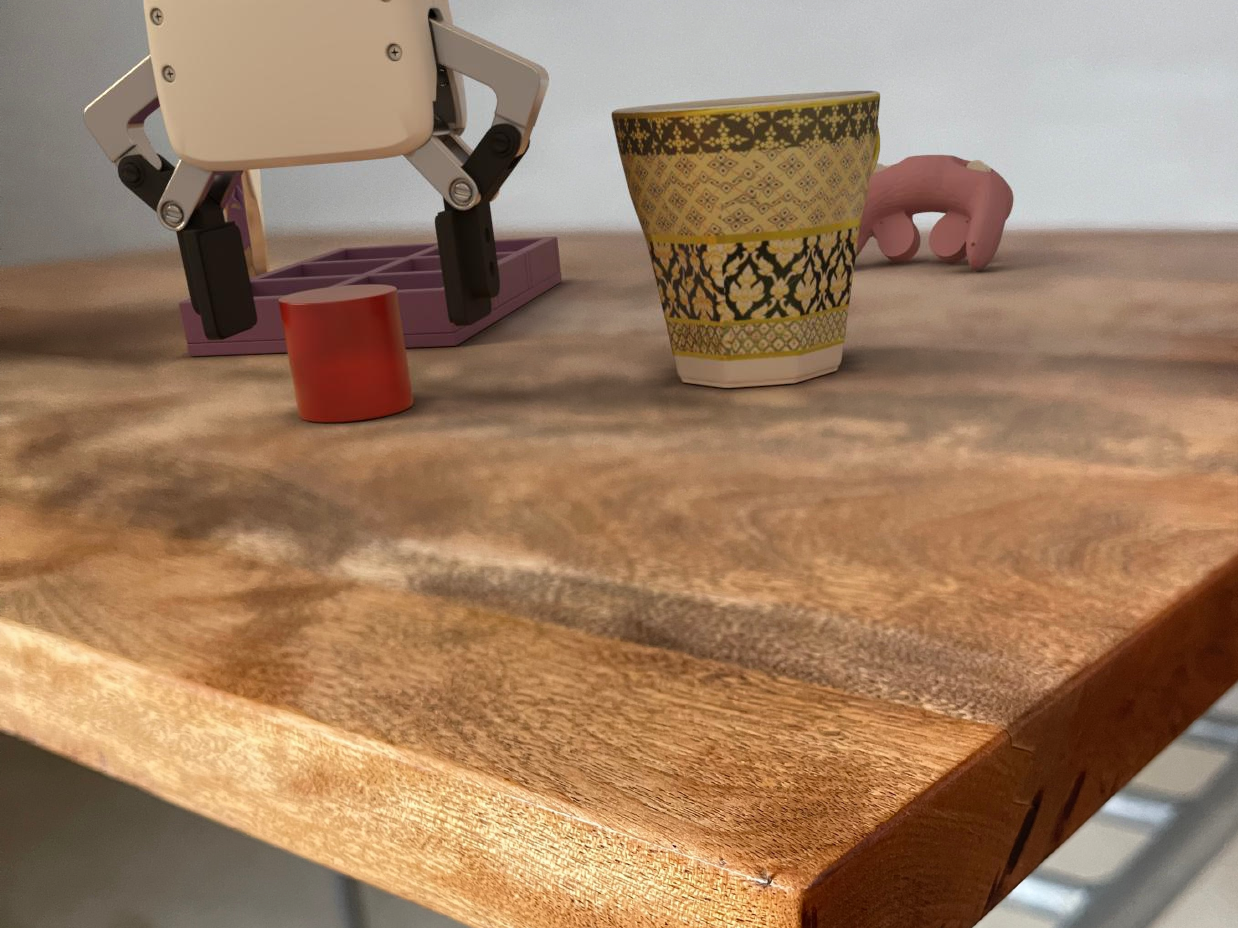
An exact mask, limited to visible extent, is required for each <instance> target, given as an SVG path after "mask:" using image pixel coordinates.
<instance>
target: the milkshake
mask: <svg viewBox="0 0 1238 928" xmlns="http://www.w3.org/2000/svg"><path fill="white" fill-rule="evenodd" d="M223 214H224V219H225V222H229V221H235V224H236V225H237V226H238V227H239V229H240V232H241V237H242V242H243V247H244V252H245V257H246V262H247V267H248V272H249V278H252V277H255V276H258V275H261V274H264V273H267V272H270V263H269V252H268V243H267V234H266V226H265V217H264V216H265V215H264V207H263V194H262V182H261V169H253V170H244V171H243V173H242V175H241V177H240V179H239V181H238V183H237V185H236V187H235V189H234V191H233V193H232V195H231V197H230V199H229V201H228V202H227V204H226V206H225V208H224V210H223Z"/></svg>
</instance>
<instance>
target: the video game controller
mask: <svg viewBox="0 0 1238 928" xmlns="http://www.w3.org/2000/svg"><path fill="white" fill-rule="evenodd" d="M1014 198H1015V197H1014V193H1013V190H1012V187H1011V186H1010V184H1009V183H1008V182H1007V181H1006V179H1005V178H1004V177H1003V176H1002V175H1001V174H1000V173H999V172H998V171H996V170H995V169H993V168H992V167H990V166H989V165H987V163H984V162H983V161H981V160H980V159H975V160H967V159H964V158H960V157H958V156H955V155H951V154H950V155H948V154H921V155H911V156H907V157H905V158H904V159H902V160H901V161H899V162H896V163H894V164H890V165H889V164H888V165H884V164H882V163H878V162H877V165H876V167H875V170H874V172H873V174H872V175H871V177H870V182H869V187H868V191H867V196H866V201H865V205H864V209H863V214H862V218H861V222H860V228H859V236H858V244H857V252H856V258H857V257H858V256H859V255H860V253H861V251H862V250H863V249H864V248H865V245H867V243H868V241H869V240H870V238H874V239H875V240H876V242H877V246H878V248H879V250H880V252H881V254H883V255H884V256H885V257H886V258H887V259H888V260H889V261H891V262H893V263H898V264H899V263H905V262H908V261H909V260H911V259H912V258H913V257H915V255H916V254H917V253H918V251H919V249H920V247H921V235H920V230H919V229H918V226H916V224H915V223H914V215H917V214H924V213H939V214H943V216H941V217H940V218H939V219H938V220H937V221H936V222H935V224H934V225H933V227H932V228H931V230H930V234H929V235H928V245H929V249H930V250H931V251H932V253H933V254H934V255H935V256H936V257H937V258H938V259H939V260H940V261H942V262H943V263H946V264H955V263H960V262H961V261H962V260H964V259H965V258H967V262H968V265H969V267H970V268H971V269H973V270H974V271H976V272H978V271H980V270H982V269H984V268H986V266H988V265H989V264H990V263H991V261H993V258H994V257H995V255H996V253H997V252H998V249H999V246H1000V244H1001V242H1002V237H1003V233H1004V229H1005V225H1006V221H1008V219H1009V217H1010V215H1011V213H1012V210H1013V206H1014Z"/></svg>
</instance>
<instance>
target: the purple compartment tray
mask: <svg viewBox="0 0 1238 928" xmlns="http://www.w3.org/2000/svg"><path fill="white" fill-rule="evenodd" d="M495 247H496V254H497V262H498V270H499V278H500V290H499V294H498V295H497V296H496V297H494V298H491V303H492V310H491V314H490V315H488V316H486V317H484V318H483V319H481V320H479V321H477V322H476V323H474V324H472V325H469V326H456V325H455V324H454V323H451V322H450V321H449V317H448V311H447V304H446V297H445V291H444V284H443V277H442V270H441V263H440V256H439V249H438V243H437V242H429V243H428V242H426V243H408V244H407V243H406V244H390V245H373V246H372V245H371V246H351V247H339V248H337V249H334V250H331V251H327V252H325V253H322V254H319V255H315V256H313V257H309V258H307V259H304V260H301V261H298V262H294V263H292V264H288V265H286V266H283V267H280V268H276V269H274V270H271V271H270V272H267V273H264V274H261V275H258V276H255V277H252V278H250V283H251V288H252V293H253V298H254V303H255V308H256V313H257V324H256V325H254V326H253V328H251V329H249V330H246V331H244V332H241V333H239V334H236V335H234V336H231V337H229V338H226V339H224V340H208V339H207V338H206V336H205V334H204V330H203V325H202V320H201V316H200V315H198V314H197V313H196V312H195V311H194V309H193V306H192V303H191V299H190V298H187V299H184V300H181V301H179V302H178V307H179V313H180V316H181V322H182V327H183V332H184V336H185V340H186V347H187V352H188V356H189V357H207V356H209V357H210V356H211V357H212V356H233V355H235V356H236V355H238V356H239V355H257V354H258V355H261V354H284V353H285V354H286V353H287V354H288V352H287V346H286V341H285V335H284V330H283V324H282V319H281V313H280V307H279V302H278V300H279V299H280V298H281V297H284V296H286V295H289V294H293V293H297V292H302V291H307V290H313V289H320V288H328V287H337V286H348V285H368V284H378V285H390V286H394V287H396V289H397V294H398V300H399V307H400V314H401V321H402V327H403V334H404V341H405V348H406V349H408V348H410V349H411V348H435V347H436V348H437V347H457V346H458V345H460V344H462V343H463V342H465V341H467V340H468V339H470V338H472V337H473V336H475V335H476V334H478V333H479V332H482V331H484V329H486V328H487V327H489V326H491V325H492V324H493V325H494V323H496V322H497V321H499V320H501V319H503V318H504V317H506V316H508V315H510V314H511V313H512V312H514V311H515V310H517V309H519V308H520V307H522V306H524V305H526V304H527V303H529V302H531V301H532V300H534V299H535V298H537V297H538V296H540V295H541V294H543V293H545V292H547V291H549V289H552V288H553V287H555V286H557V285H559V284H560V283H562V282H563V278H562V271H561V261H560V260H561V259H560V249H559V241H558V236H541V237H539V236H538V237H521V238H520V237H519V238H504V239H503V238H502V239H501V238H500V239H495Z"/></svg>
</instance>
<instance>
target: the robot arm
mask: <svg viewBox="0 0 1238 928" xmlns="http://www.w3.org/2000/svg"><path fill="white" fill-rule="evenodd" d="M142 2H143V12H144V20H145V27H146V32H147V33H146V34H147V41H148V47H149V55H148V56H146V57H145V58H143V60H141V62H139V63H137V65H135V66H134V67H133V68H132V69H130V70H129V71H128V72H127V73H126V74H125V75H123V76H122V77H121V78H120V79H118V80H117V81H116V82H114V84H112V85H111V86H110V87H109V88H107V89H106V90H105V91H104V92H102V93H101V94H100V95H99V96H98V97H97V98H96V99H94V100H93V101H92V102H91V103H89V104H88V105H87V106H86V107H85V108H84V110H83V115H82V118H83V122H84V125H85V127H86V128H87V130H88V131H89V132H90V134H91V135H92V137H93V138H94V140H95V141H96V143H97V144H98V145H99V147H100V148H101V150H102V151H103V152H104V154H105V155H106V157H107V158H108V160H109V162H110V163H112V164H114V165H115V167H116V168H117V174H118V175H117V176H118V178H119V180H120V182H121V183H122V184H123V185H124V186H125V187H126V188H127V189H128V190H129V191H131V192H132V193H133V194H134V195H135V196H136V197H138V199H140V200H141V201H142V202H144V203H145V204H146V205H147V206H148V207H149V208H151V210H153V211H154V212H155V213H156V216H157V219H158V221H159V222H160V224H161V225H162V227H164V229H166V230H168V231H170V232H175V233H176V238H177V243H178V247H179V252H180V257H181V262H182V266H183V272H184V276H185V279H186V284H187V290H188V292H189V293H188V294H189V299H191V303H192V306H193V309H194V311H195V312H196V313H197V314H198V315H200V316H201V320H202V325H203V330H204V334H205V336H206V338H207V339H208V340H224V339H226V338H229V337H231V336H234V335H236V334H239V333H241V332H244V331H246V330H249V329H251V328H253V326H254V325H256V324H257V313H256V308H255V303H254V298H253V293H252V288H251V283H250V278H249V272H248V267H247V262H246V257H245V252H244V247H243V242H242V237H241V232H240V229H239V227H238V226H237V225H236V224H235V221H229V222H225V219H224V214H223V210H224V208H225V206H226V204H227V202H228V201H229V199H230V197H231V195H232V193H233V191H234V189H235V187H236V185H237V183H238V181H239V179H240V177H241V175H242V173H243V171H244V170H253V169H260V170H265V169H276V168H277V169H278V168H290V167H292V168H293V167H302V166H313V165H327V164H339V163H353V162H363V161H371V160H372V161H373V160H381V159H382V160H383V159H389V158H396V157H400V156H403V157H404V158H405V159H406V160H407V161H408V162H409V163H410V164H411V165H412V166H413V167H414V169H415V170H416V171H418V173H419V174H420V175H421V176H422V177H423V178H424V179H425V180H426V181H427V182H428V183H429V184H430V185H431V186H432V187H433V188H434V189H435V190H436V192H438V194H440V196H441V197H442V201H443V209H444V210H442V211H438V212H437V215H435V217H434V228H435V235H436V241H437V242H436V243H438V249H439V256H440V263H441V270H442V277H443V284H444V291H445V297H446V304H447V311H448V317H449V321H450V322H451V323H454V324H455V325H456V326H469V325H472V324H474V323H476V322H477V321H479V320H481V319H483V318H484V317H486V316H488V315H490V314H491V310H492V303H491V298H494V297H496V296H497V295H498V294H499V290H500V278H499V270H498V262H497V254H496V247H495V240H496V239H495V232H494V224H493V217H492V208H491V202H493V201H494V200H496V199H497V197H498V196H499V194H500V190H501V188H502V186H503V185H504V184H505V183H506V181H507V180H508V178H509V177H510V176H511V174H512V173H513V171H514V170H515V168H516V167H517V166H518V165H519V163H520V162H521V160H522V159H523V158H524V156H525V155H526V154H527V152H528V150H529V149H530V145H531V136H532V133H533V130H534V128H535V127H536V124H537V120H538V117H539V114H540V112H541V110H542V105H543V103H544V100H545V96H546V94H547V91H548V88H549V85H550V77H549V73H548V71H547V69H546V68H545V67H544V66H542V65H541V64H538V63H537V62H535V61H532V60H529V59H528V58H525V57H524V56H522V55H519V54H517V53H515V52H512V51H510V50H508V49H506V48H504V47H502V46H500V45H497V44H495V43H493V42H491V41H489V40H486V39H485V38H482V37H480V36H478V35H476V34H474V33H472V32H469V31H467V30H465V29H462V28H461V27H459V26H457V25H454V21H453V17H452V12H451V7H450V3H449V0H142ZM464 76H466V77H468V78H470V79H472V80H474V81H476V82H479V83H480V84H483V85H485V86H487V87H488V88H490V89H491V90H492V91H493V92H494V94H495V96H496V107H495V110H494V116H493V120H492V121H491V125H490V128H488V129H487V131H486V132H485V134H483V137H482V138H481V139H480V141H479V142H478V144H477V145H476V146H475V148H474V149H472V148H471V147H470V146H469V145H468V144H467V143H466V141H464V139H462V137H461V136H462V135H463V134H464V132H465V131H466V127H467V123H468V122H467V121H468V107H467V96H466V89H465V81H464ZM159 108H160V111H161V115H162V119H163V123H164V126H165V127H164V128H165V130H166V134H167V137H168V139H169V142H170V146H171V148H172V150H173V151H174V153H175V155H176V156H177V157H178V158H179V161H178V162H177V164H176V166H175V165H173V164H172V163H171V162H170V161H168V160H167V158H165V157H164V156H163V155H161V154H159V153H157V152H156V151H155V149H154V148H153V146H152V145H151V140H150V139H149V138H148V136H147V134H146V132H145V126H144V125H145V121H146V119H147V118H148V117H149V116H151V114H153V113H154V112H155V111H157V110H158V109H159Z"/></svg>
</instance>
